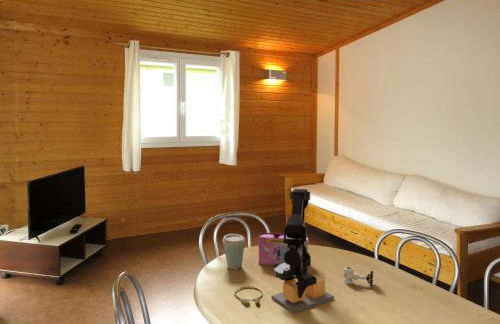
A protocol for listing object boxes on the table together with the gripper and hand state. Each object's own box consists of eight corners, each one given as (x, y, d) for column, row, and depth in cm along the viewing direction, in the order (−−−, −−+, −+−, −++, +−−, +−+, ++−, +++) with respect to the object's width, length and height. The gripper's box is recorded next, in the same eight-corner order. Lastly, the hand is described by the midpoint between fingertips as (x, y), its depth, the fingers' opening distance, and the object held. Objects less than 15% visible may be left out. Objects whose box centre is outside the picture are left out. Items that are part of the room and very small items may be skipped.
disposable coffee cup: (249, 265, 189) (249, 235, 187) (237, 273, 180) (236, 241, 178) (231, 261, 194) (231, 231, 192) (218, 268, 185) (217, 237, 183)
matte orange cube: (295, 292, 156) (295, 278, 155) (305, 298, 151) (305, 283, 150) (283, 296, 152) (283, 282, 152) (293, 303, 147) (293, 287, 147)
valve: (342, 285, 168) (371, 289, 163) (342, 270, 167) (372, 274, 162) (344, 279, 174) (373, 283, 169) (344, 264, 173) (373, 268, 169)
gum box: (309, 261, 194) (309, 234, 192) (308, 268, 186) (308, 240, 184) (261, 258, 199) (261, 231, 197) (258, 264, 191) (258, 236, 189)
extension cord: (227, 305, 151) (227, 300, 151) (238, 287, 167) (238, 283, 166) (259, 309, 149) (259, 304, 148) (267, 290, 164) (267, 286, 163)
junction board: (271, 298, 156) (271, 281, 155) (309, 286, 167) (310, 269, 166) (294, 313, 144) (294, 294, 143) (333, 299, 155) (334, 281, 154)
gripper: (263, 252, 153) (263, 290, 155) (294, 268, 137) (293, 310, 139) (285, 246, 159) (285, 284, 161) (318, 261, 143) (317, 302, 145)
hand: (294, 294), depth 151 cm, fingers closed on matte orange cube, 6 cm apart
